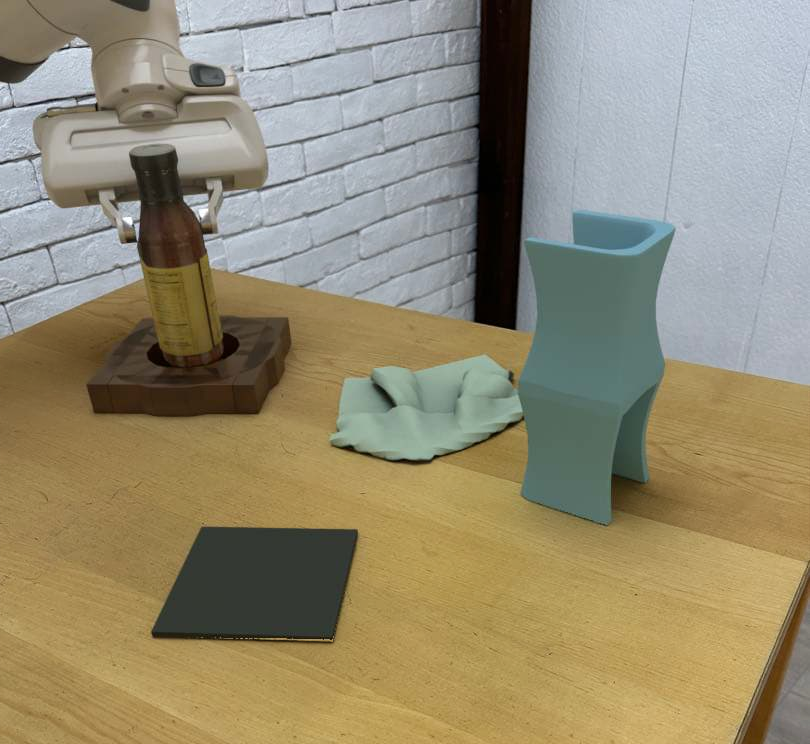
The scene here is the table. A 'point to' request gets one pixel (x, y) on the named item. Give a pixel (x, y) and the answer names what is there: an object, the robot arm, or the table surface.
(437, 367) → the cloth
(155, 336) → the bottle rack
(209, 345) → the sauce bottle
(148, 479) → the table surface
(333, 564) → the mat
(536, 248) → the teal waisted open shell
